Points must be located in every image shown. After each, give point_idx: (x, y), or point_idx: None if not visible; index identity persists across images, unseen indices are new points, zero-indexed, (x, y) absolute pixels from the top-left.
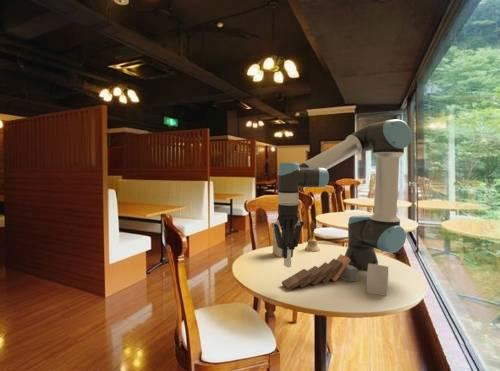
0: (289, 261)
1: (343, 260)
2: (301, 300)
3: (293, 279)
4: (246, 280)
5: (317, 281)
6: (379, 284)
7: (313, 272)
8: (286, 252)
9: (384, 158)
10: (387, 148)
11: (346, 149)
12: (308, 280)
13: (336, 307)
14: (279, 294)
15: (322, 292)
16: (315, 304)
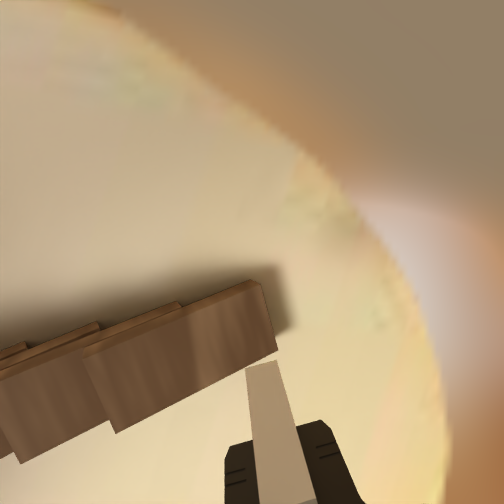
0: (266, 395)
1: None
2: (222, 161)
3: (214, 342)
4: (423, 414)
5: (65, 337)
6: None
7: (62, 389)
8: (316, 480)
9: None
10: None
11: None
12: (123, 327)
13: (51, 42)
14: (314, 245)
15: (74, 237)
16: (161, 101)
